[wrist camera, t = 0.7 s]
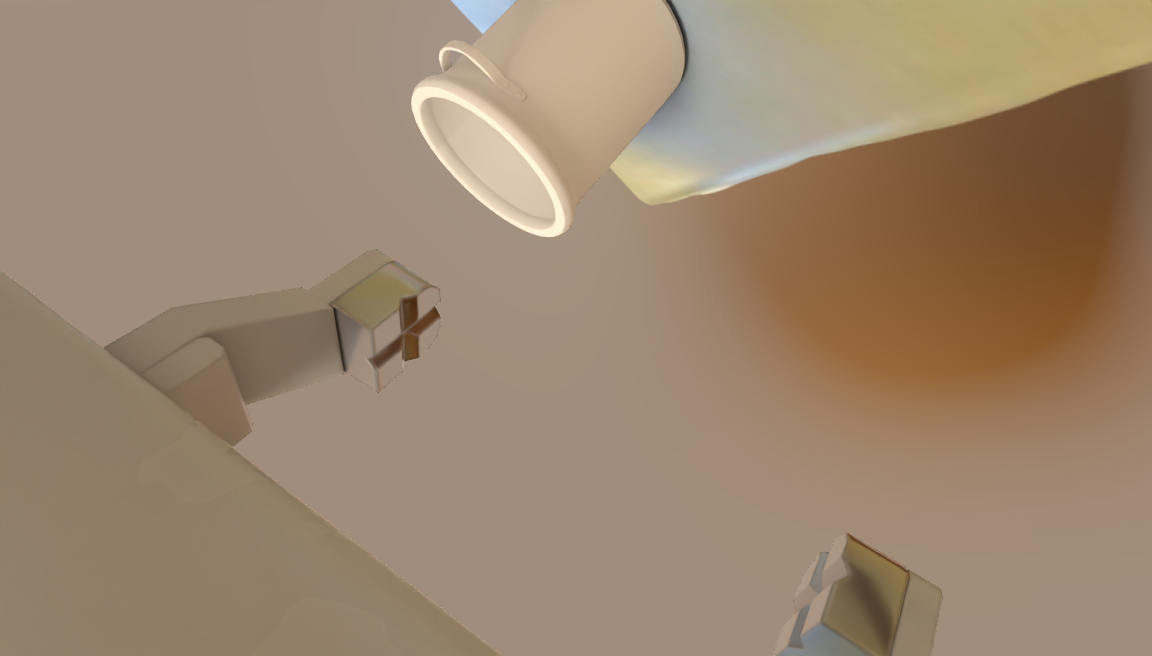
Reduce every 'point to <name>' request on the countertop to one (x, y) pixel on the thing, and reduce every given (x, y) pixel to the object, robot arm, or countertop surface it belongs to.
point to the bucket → (549, 102)
